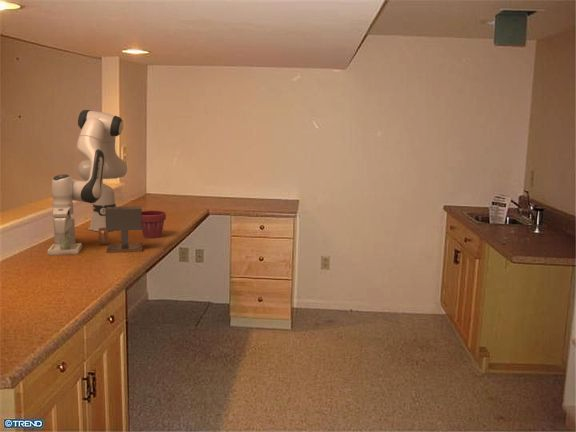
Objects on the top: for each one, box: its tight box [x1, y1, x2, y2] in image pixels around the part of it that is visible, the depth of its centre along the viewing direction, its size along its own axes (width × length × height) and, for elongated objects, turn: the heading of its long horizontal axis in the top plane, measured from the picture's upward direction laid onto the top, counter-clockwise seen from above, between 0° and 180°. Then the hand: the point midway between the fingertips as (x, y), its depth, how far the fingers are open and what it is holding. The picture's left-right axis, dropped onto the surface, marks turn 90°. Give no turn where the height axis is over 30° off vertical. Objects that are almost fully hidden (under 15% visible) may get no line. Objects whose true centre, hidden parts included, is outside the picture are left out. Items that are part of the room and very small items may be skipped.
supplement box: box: [52, 217, 77, 244], centre depth 282 cm, size 7×7×13 cm
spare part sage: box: [60, 232, 71, 250], centre depth 266 cm, size 4×4×8 cm
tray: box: [47, 242, 83, 256], centre depth 267 cm, size 13×13×2 cm
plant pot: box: [141, 210, 167, 239], centre depth 300 cm, size 14×14×13 cm
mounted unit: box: [105, 205, 144, 254], centre depth 271 cm, size 12×16×20 cm
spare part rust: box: [97, 228, 110, 246], centre depth 281 cm, size 4×4×8 cm
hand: (64, 239), depth 266 cm, fingers open, 8 cm apart
